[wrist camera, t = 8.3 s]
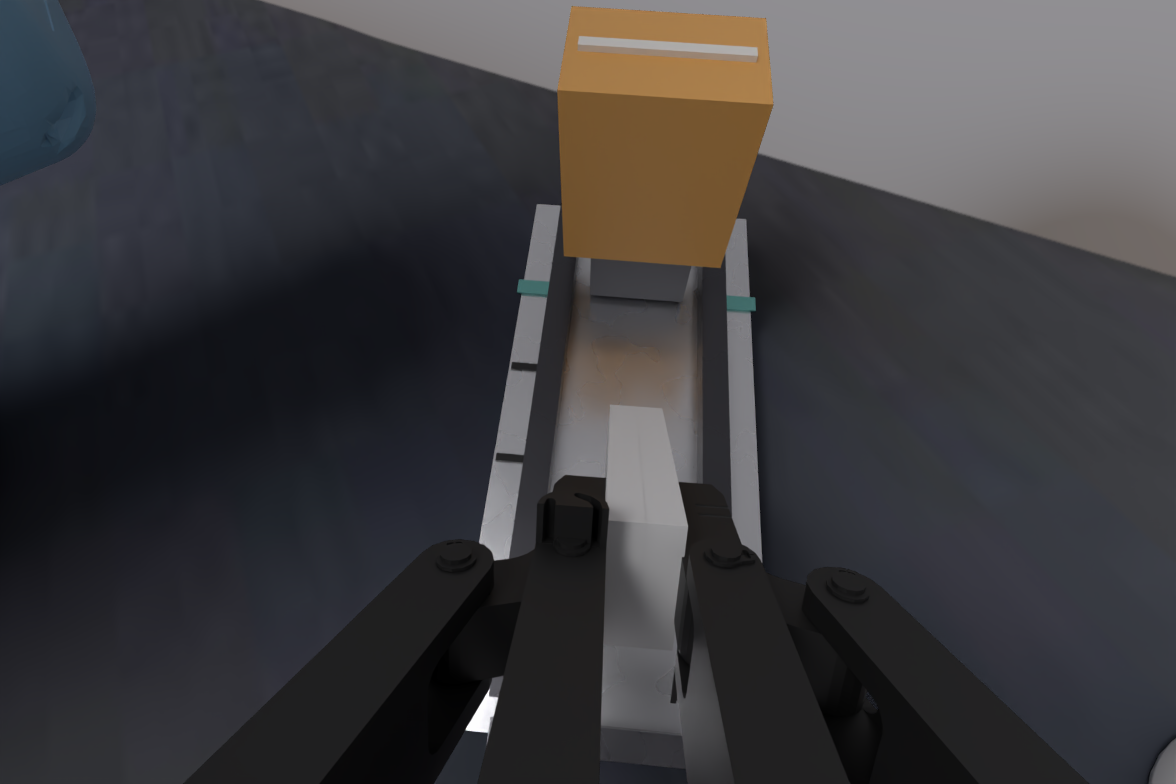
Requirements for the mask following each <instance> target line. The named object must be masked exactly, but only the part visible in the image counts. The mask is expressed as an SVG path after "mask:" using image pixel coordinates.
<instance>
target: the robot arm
mask: <svg viewBox="0 0 1176 784" xmlns="http://www.w3.org/2000/svg"><path fill="white" fill-rule="evenodd" d="M95 115H96V101H95V93H94V87H93V83H92V80H91V76H90V73H89V70H88V67H87V65H86V62H85V59H84V56H83V54H82V52H81V49H80V47H79V44H78V42H77V40H76V38H75V36H74V34H73V31H72V29H71V27H70V25H69V23H68V21H67V19H66V17H65V15H64V12H63V10H62V8H61V6H60V4H59V2H58V0H0V186H1V185H3V184H5V183H8V182H10V181H13V180H15V179H18V178H20V177H22V176H25V175H27V174H30V173H32V172H35V171H37V170H39V169H42V168H44V167H47V166H49V165H52V164H54V163H57V162H59V161H61V160H63V159H65V158H67V157H69V156H71V155H72V154H73V153H74V152H76V151H77V150H78V149H79V148H80V147H81V146H82V145H83V143H84V142H85V141H86V140H87V138H88V137H89V135H90V133H91V131H92V128H93V124H94V121H95ZM675 633H676V641H677V653H676V661H675V669H674V676H673V684H672V692H671V700H670V703H674V704H676V701H677V698H678V706H679V715H680V723H681V732H682V740H683V749H684V757H685V766H686V774H687V783H688V784H1089V783H1088V782H1087V781H1086V780H1085V779H1084V778H1083V777H1081V776H1080V775H1079V774H1078V773H1077V772H1076V771H1075V770H1074V769H1073V768H1072V767H1071V766H1070V765H1069V764H1068V763H1067V762H1066V761H1065V760H1064V759H1062V758H1061V757H1060V756H1059V755H1058V754H1057V753H1056V752H1055V751H1054V750H1053V749H1052V748H1051V747H1050V746H1049V745H1048V744H1047V743H1046V742H1044V741H1043V740H1042V739H1041V738H1040V737H1039V736H1038V735H1037V734H1036V733H1035V732H1034V731H1033V730H1032V729H1031V728H1030V727H1029V726H1028V725H1027V724H1025V723H1024V722H1023V721H1022V720H1021V719H1020V718H1019V717H1018V716H1017V715H1016V714H1015V713H1014V712H1013V711H1012V710H1011V709H1010V708H1009V707H1007V706H1006V705H1005V704H1004V703H1003V702H1002V701H1001V700H1000V699H999V698H998V697H997V696H996V695H995V694H994V693H993V692H992V691H991V690H989V689H988V688H987V687H986V686H985V685H984V684H983V683H982V682H981V681H980V680H979V679H978V678H977V677H976V676H975V675H974V674H973V673H972V672H970V671H969V670H968V669H967V668H966V667H965V666H964V665H963V664H962V663H961V662H960V661H959V660H958V659H957V658H956V657H955V656H954V655H952V654H951V653H950V652H949V651H948V650H947V649H946V648H945V647H944V646H943V645H942V644H941V643H940V642H939V641H938V640H937V639H936V638H935V637H933V636H932V635H931V634H930V633H929V632H928V631H927V630H926V629H925V628H924V627H923V626H922V625H921V624H920V623H919V622H918V621H917V620H915V619H914V618H913V617H912V616H911V615H910V614H909V613H908V612H907V611H906V610H905V609H904V608H903V607H902V606H901V605H900V604H899V603H897V602H896V601H895V600H894V599H893V598H892V597H891V596H890V595H889V594H888V593H887V592H886V591H885V590H884V589H883V588H882V587H880V586H879V585H878V584H876V583H875V582H874V581H872V580H871V579H869V578H867V577H865V576H863V575H861V574H859V573H857V572H855V571H852V570H849V569H848V570H846V569H845V568H835V567H823V568H819V569H814V570H813V571H812V572H811V573H810V574H808V577H807V582H806V585H803V584H799V583H795V582H792V581H788V580H784V579H781V578H778V577H775V576H773V575H771V574H768V573H766V572H765V569H764V567H763V564H762V562H761V560H760V558H759V557H758V556H757V554H756V553H755V552H754V551H752V550H751V549H749V548H748V547H746V546H745V545H742V544H741V541H740V538H739V536H738V533H737V530H736V527H735V525H734V522H733V519H732V518H731V514H730V511H729V509H728V505H727V503H726V500H725V497H724V495H723V494H722V493H721V492H720V491H718V490H717V489H716V488H715V487H714V486H713V485H712V484H700V483H687V482H678V478H677V473H676V469H675V464H674V460H673V455H672V450H671V446H670V441H669V437H668V432H667V428H666V423H665V418H664V414H663V409H662V408H650V407H636V406H622V405H610V412H609V425H608V439H607V452H606V465H605V478H601V477H588V476H575V475H564V476H563V477H562V478H561V479H559V480H558V481H557V482H556V483H555V484H554V488H553V492H550V493H548V494H546V495H544V496H543V497H541V499H540V500H539V501H538V503H537V520H536V543H535V548H534V550H532V551H530V552H529V553H527V554H524V555H521V556H519V557H515V558H510V559H503V560H495V561H494V558H493V554H492V551H491V550H490V549H488V548H487V547H486V546H485V545H483V544H480V543H478V542H475V541H470V540H462V539H458V540H448V541H444V542H441V543H438V544H435V545H432V546H431V547H429V548H428V549H426V550H425V551H423V552H422V553H421V554H420V555H419V556H418V557H417V558H416V559H415V560H414V561H413V562H412V563H411V564H410V565H409V566H408V567H407V568H406V569H405V570H404V571H403V572H402V573H400V574H399V575H398V576H397V577H396V578H395V579H394V580H393V581H392V582H391V583H390V584H389V585H388V586H387V587H386V588H385V589H384V590H383V591H382V592H381V593H380V594H379V595H378V596H377V597H376V598H375V599H374V600H373V601H372V602H371V603H369V604H368V605H367V606H366V607H365V608H364V609H363V610H362V611H361V612H360V613H359V614H358V615H357V616H356V617H355V618H354V619H353V620H352V621H351V622H350V623H349V624H348V625H347V626H346V627H345V628H344V629H343V630H342V631H341V632H339V633H338V634H337V635H336V636H335V637H334V638H333V639H332V640H331V641H330V642H329V643H328V644H327V645H326V646H325V647H324V648H323V649H322V650H321V651H320V652H319V653H318V654H317V655H316V656H315V657H314V658H313V659H312V660H311V661H309V662H308V663H307V664H306V665H305V666H304V667H303V668H302V669H301V670H300V671H299V672H298V673H297V674H296V675H295V676H294V677H293V678H292V679H291V680H290V681H289V682H288V683H287V684H286V685H285V686H284V687H283V688H282V689H281V690H280V691H278V692H277V693H276V694H275V695H274V696H273V697H272V698H271V699H270V700H269V701H268V702H267V703H266V704H265V705H264V706H263V707H262V708H261V709H260V710H259V711H258V712H257V713H256V714H255V715H254V716H253V717H252V718H251V719H250V720H248V721H247V722H246V723H245V724H244V725H243V726H242V727H241V728H240V729H239V730H238V731H237V732H236V733H235V734H234V735H233V736H232V737H231V738H230V739H229V740H228V741H227V742H226V743H225V744H224V745H223V746H222V747H221V748H220V749H219V750H217V751H216V752H215V753H214V754H213V755H212V756H211V757H210V758H209V759H208V760H207V761H206V762H205V763H204V764H203V765H202V766H201V767H200V768H199V769H198V770H197V771H196V772H195V773H194V774H193V775H192V776H191V777H190V778H189V779H187V780H186V781H185V782H184V783H183V784H434V782H435V780H436V779H437V777H438V775H439V774H440V772H441V770H442V769H443V767H444V765H445V764H446V762H447V760H448V759H449V757H450V755H451V753H452V752H453V750H454V748H455V747H456V745H457V743H458V742H459V740H460V738H461V737H462V735H463V733H464V731H465V730H466V728H467V726H468V725H469V723H470V721H471V720H472V718H473V716H474V715H475V713H476V711H477V710H478V708H479V706H480V704H481V703H482V701H483V699H484V698H485V696H486V694H487V693H488V691H489V688H490V685H491V682H492V678H495V677H501V676H503V680H502V684H501V688H500V693H499V697H498V701H497V705H496V709H495V713H494V717H493V722H492V726H491V730H490V734H489V738H488V742H487V746H486V750H485V755H484V759H483V763H482V767H481V771H480V775H479V779H478V784H599V772H600V739H601V706H602V673H603V645H610V646H622V647H634V648H646V649H657V650H669V651H673V643H674V635H675ZM867 691H868V692H869V693H870V695H871V696H872V697H873V699H874V701H875V702H876V704H877V706H878V710H877V709H875V708H874V707H873V706H872V704H871V703H870V702H869V700H868V699H867V698H866V693H867Z"/></svg>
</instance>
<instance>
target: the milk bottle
mask: <svg viewBox="0 0 1176 784" xmlns="http://www.w3.org/2000/svg"><path fill="white" fill-rule="evenodd" d="M1148 784H1176V739H1174V740H1172V741H1171V742H1170V743H1169V745H1168V746H1167V747H1166V748H1165V749H1164V750H1163V751H1162V752H1161V753H1160V754H1159V755H1158V758H1157V760H1156V762H1155V764H1154V766H1153V768H1152V770H1151V772H1150V776H1149V782H1148Z"/></svg>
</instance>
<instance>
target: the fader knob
mask: <svg viewBox="0 0 1176 784" xmlns="http://www.w3.org/2000/svg"><path fill="white" fill-rule="evenodd" d="M557 93H558V118H559V144H560V170H561V195H562V221H563V247H564V256H567V257H581V258H591V265H590V295H597V296H610V297H623V298H636V299H649V300H662V301H675V302H682V301H683V297H684V294H685V290H686V286H687V282H688V278H689V274H690V270H691V266H699V267H713V268H721V265H722V261H723V258H724V255H725V252H726V249H727V246H728V243H729V240H730V237H731V234H732V231H733V228H734V225H735V221H736V218H737V215H738V212H739V209H740V206H741V203H742V200H743V197H744V194H745V191H746V188H747V184H748V181H749V178H750V175H751V172H752V169H753V166H754V163H755V160H756V157H757V154H758V151H759V148H760V144H761V141H762V138H763V135H764V132H765V129H766V126H767V123H768V120H769V117H770V114H771V111H772V108H773V93H772V82H771V70H770V58H769V46H768V36H767V23H766V18H751V17H736V16H719V15H704V14H687V13H672V12H655V11H640V10H624V9H623V10H622V9H608V8H591V7H575V6H572V8H571V13H570V19H569V25H568V31H567V37H566V43H565V49H564V54H563V61H562V66H561V73H560V78H559V84H558V90H557Z"/></svg>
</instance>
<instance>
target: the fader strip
mask: <svg viewBox="0 0 1176 784" xmlns="http://www.w3.org/2000/svg"><path fill="white" fill-rule="evenodd" d="M590 265H591V258H581V257H567V256H564V247H563V221H562V203H561V206H557V205H543V204H537V208H536V213H535V219H534V225H533V231H532V237H531V243H530V248H529V254H528V260H527V266H526V272H525V277H524V280H522V279H519V283H518V288H517V294H522V295H521V301H520V307H519V312H518V318H517V324H516V330H515V336H514V342H513V347H512V353H511V359H510V365H509V371H508V377H507V382H506V388H505V394H504V400H503V406H502V412H501V417H500V423H499V429H498V435H497V441H496V446H495V452H494V458H493V464H492V470H491V476H490V481H489V487H488V493H487V499H486V505H485V511H484V516H483V522H482V528H481V534H480V540H479V543H480V544H483V545H485V546H486V547H487V548H488V549H490V550H491V551H492V554H493V558H494V561H495V560H503V559H510V558H515V557H519V556H521V555H524V554H527V553H529V552H530V551H532V550H534V548H535V543H536V520H537V503H538V501H539V500H540V499H541V497H543V496H544V495H546V494H548V493H550V492H553V488H554V484H555V483H556V482H557V481H558V480H559V479H561V478H562V477H563V476H564V475H575V476H588V477H601V478H605V465H606V452H607V439H608V425H609V412H610V405H622V406H636V407H650V408H662V409H663V414H664V418H665V423H666V428H667V432H668V437H669V441H670V446H671V450H672V455H673V460H674V464H675V469H676V473H677V478H678V482H687V483H700V484H712V485H713V486H714V487H715V488H716V489H717V490H718V491H720V492H721V493H722V494H723V495H724V497H725V500H726V503H727V505H728V509H729V511H730V514H731V518H732V519H733V522H734V525H735V527H736V530H737V533H738V536H739V538H740V541H741V544H742V545H745V546H746V547H748V548H749V549H751V550H752V551H754V552H755V553H756V554H757V556H758V557H759V558H760V560H761V562H762V547H761V526H760V504H759V483H758V462H757V440H756V419H755V398H754V376H753V355H752V334H751V312H755V311H756V304H755V297H750V291H749V270H748V248H747V227H746V219H736V221H735V225H734V228H733V231H732V234H731V237H730V240H729V243H728V246H727V249H726V252H725V255H724V258H723V261H722V265H721V268H713V267H699V266H691V270H690V274H689V278H688V282H687V286H686V290H685V294H684V297H683V301H682V302H675V301H662V300H649V299H636V298H623V297H610V296H597V295H590ZM676 653H677V641H676V633H675V635H674V643H673V651H669V650H657V649H646V648H634V647H622V646H610V645H603V673H602V706H601V739H600V760H602V761H611V762H621V763H631V764H641V765H651V766H660V767H670V768H680V769H686V766H685V757H684V749H683V740H682V732H681V723H680V715H679V706H678V698H677V701H676V704H674V703H670V700H671V692H672V684H673V676H674V669H675V661H676ZM502 680H503V676H501V677H495V678H492V682H491V685H490V688H489V691H488V693H487V694H486V696H485V698H484V699H483V701H482V703H481V704H480V706H479V708H478V710H477V711H476V713H475V715H474V716H473V718H472V720H471V721H470V723H469V725H468V726H467V728H466V731H476V732H486V733H488V738H489V734H490V730H491V726H492V722H493V717H494V713H495V709H496V705H497V701H498V697H499V693H500V688H501V684H502ZM487 742H488V739H487Z"/></svg>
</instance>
